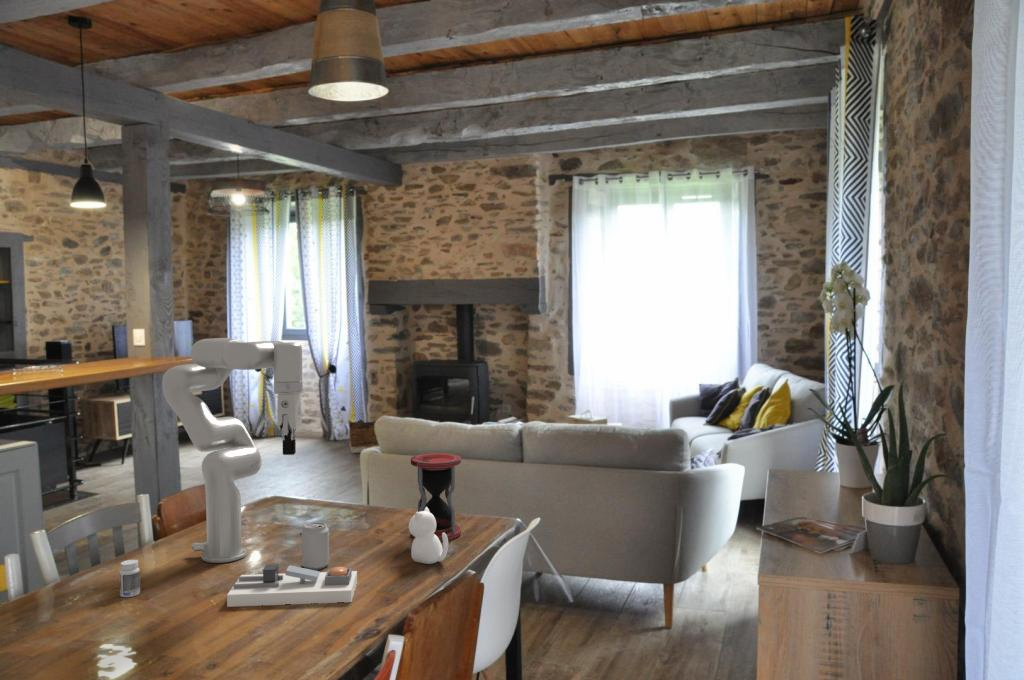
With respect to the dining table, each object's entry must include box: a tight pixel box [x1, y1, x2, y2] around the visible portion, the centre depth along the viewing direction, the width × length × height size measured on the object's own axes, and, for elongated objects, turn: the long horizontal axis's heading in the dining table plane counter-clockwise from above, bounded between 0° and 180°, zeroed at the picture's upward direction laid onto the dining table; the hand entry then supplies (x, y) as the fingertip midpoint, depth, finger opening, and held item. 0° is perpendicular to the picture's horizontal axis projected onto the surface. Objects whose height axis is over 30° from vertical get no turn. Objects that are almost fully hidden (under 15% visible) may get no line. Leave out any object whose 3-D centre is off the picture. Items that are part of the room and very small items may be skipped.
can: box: [301, 521, 330, 571], centre depth 218 cm, size 8×8×12 cm
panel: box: [226, 567, 358, 608], centre depth 197 cm, size 30×14×5 cm, turn 96°
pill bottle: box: [118, 559, 141, 598], centre depth 197 cm, size 5×5×8 cm
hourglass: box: [410, 452, 462, 542], centre depth 248 cm, size 16×16×25 cm
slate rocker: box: [284, 565, 321, 581], centre depth 197 cm, size 8×4×1 cm, turn 96°
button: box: [329, 566, 348, 576], centre depth 198 cm, size 4×4×2 cm
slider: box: [262, 563, 280, 583], centre depth 196 cm, size 3×4×4 cm
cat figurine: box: [408, 507, 449, 565], centre depth 222 cm, size 9×12×15 cm
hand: (289, 454), depth 211 cm, fingers closed
